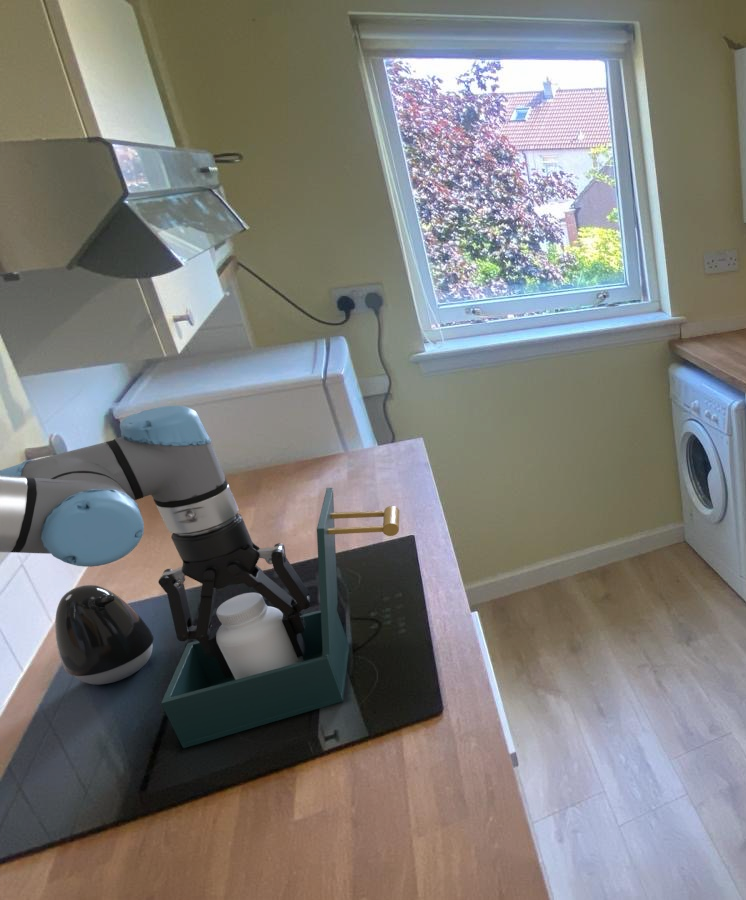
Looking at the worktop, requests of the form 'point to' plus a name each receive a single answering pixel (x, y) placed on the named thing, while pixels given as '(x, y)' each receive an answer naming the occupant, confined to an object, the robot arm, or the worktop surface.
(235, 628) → the pill bottle
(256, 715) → the bin
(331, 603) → the bin lid
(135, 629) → the black rounded egg shape
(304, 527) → the worktop surface
